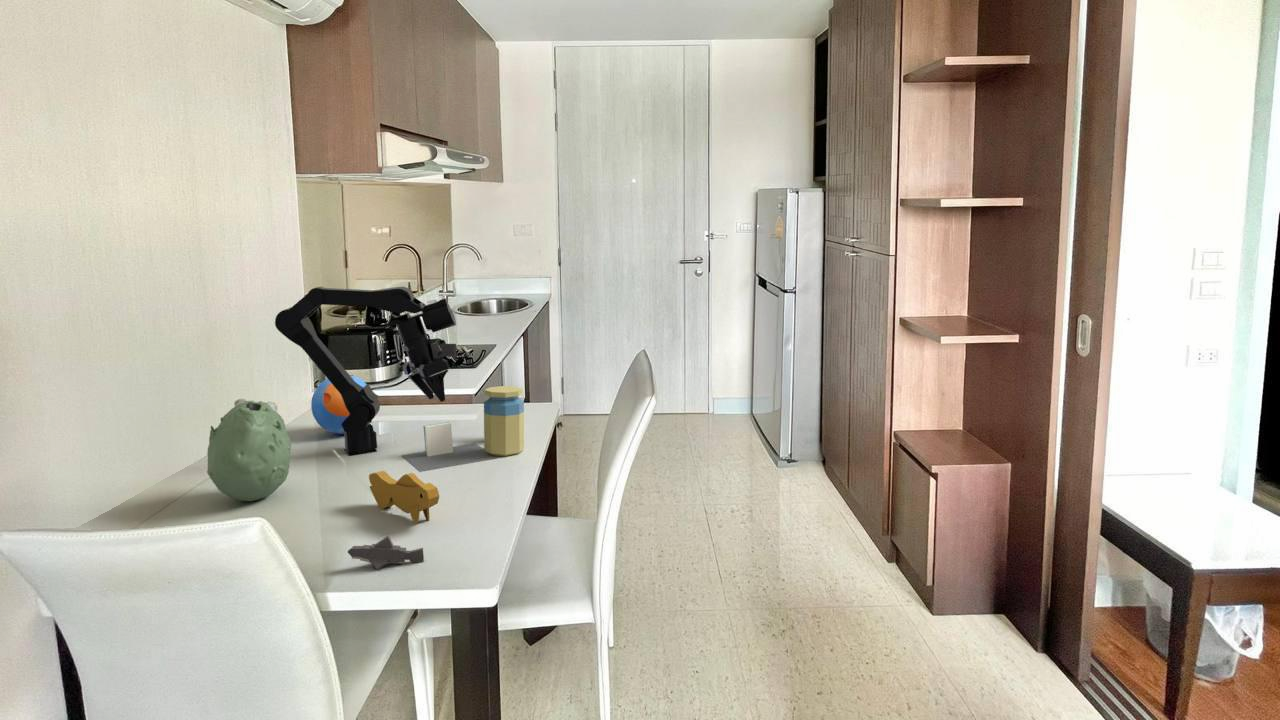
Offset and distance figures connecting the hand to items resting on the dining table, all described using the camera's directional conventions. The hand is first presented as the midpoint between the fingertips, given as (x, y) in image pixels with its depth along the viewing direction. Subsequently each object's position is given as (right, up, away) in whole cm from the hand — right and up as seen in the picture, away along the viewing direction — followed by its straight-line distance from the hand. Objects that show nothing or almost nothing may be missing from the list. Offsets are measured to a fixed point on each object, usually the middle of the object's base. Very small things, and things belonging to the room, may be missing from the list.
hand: (437, 399), depth 211 cm
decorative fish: (+4, -20, -45) cm, 50 cm away
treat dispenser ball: (-28, -10, +19) cm, 36 cm away
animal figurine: (+8, -24, -68) cm, 73 cm away
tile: (+2, -12, -5) cm, 13 cm away
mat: (+5, -13, -8) cm, 16 cm away
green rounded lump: (-29, -19, -32) cm, 48 cm away
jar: (+17, -12, -5) cm, 22 cm away
